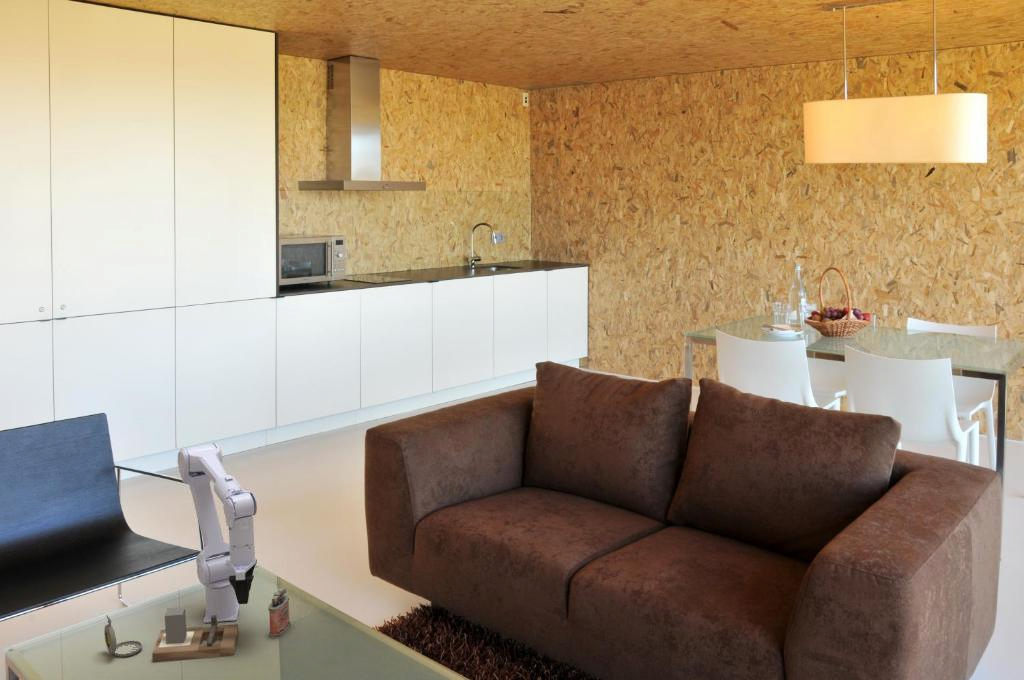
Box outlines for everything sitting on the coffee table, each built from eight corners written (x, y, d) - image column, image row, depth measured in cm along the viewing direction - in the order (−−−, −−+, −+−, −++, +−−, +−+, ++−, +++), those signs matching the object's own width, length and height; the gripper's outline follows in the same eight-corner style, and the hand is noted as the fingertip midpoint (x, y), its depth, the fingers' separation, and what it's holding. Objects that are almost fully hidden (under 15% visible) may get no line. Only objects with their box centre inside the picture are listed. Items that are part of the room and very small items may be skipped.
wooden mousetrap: (161, 637, 232) (160, 618, 232) (238, 631, 236) (237, 612, 235) (152, 661, 221) (151, 641, 220) (233, 655, 224) (232, 635, 223)
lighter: (279, 638, 232) (277, 599, 231) (266, 637, 233) (264, 598, 231) (293, 623, 240) (291, 586, 238) (280, 622, 241) (279, 584, 239)
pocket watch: (148, 647, 228) (145, 607, 226) (123, 663, 220) (120, 622, 218) (120, 641, 230) (117, 602, 229) (94, 657, 223) (91, 617, 221)
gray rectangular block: (186, 634, 229) (185, 607, 228) (184, 642, 225) (182, 614, 224) (169, 636, 229) (167, 608, 228) (166, 643, 225) (164, 615, 224)
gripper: (227, 533, 235) (230, 586, 238) (221, 555, 221) (224, 610, 223) (257, 531, 237) (259, 583, 239) (252, 553, 223) (255, 608, 225)
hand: (244, 596), depth 231 cm, fingers open, 7 cm apart
